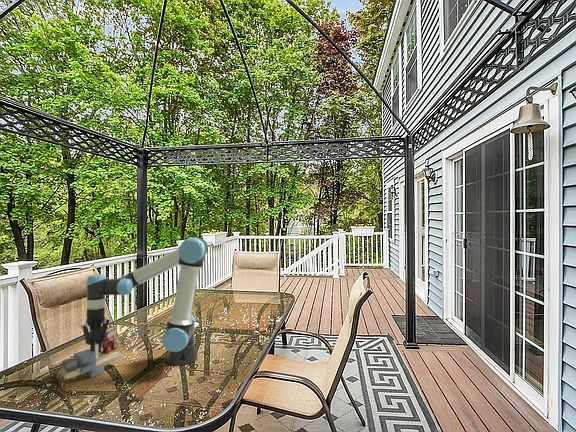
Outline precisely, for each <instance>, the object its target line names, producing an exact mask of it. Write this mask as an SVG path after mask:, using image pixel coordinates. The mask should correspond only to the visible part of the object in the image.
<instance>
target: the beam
mask: <svg viewBox="0 0 576 432" xmlns="http://www.w3.org/2000/svg"><path fill="white" fill-rule="evenodd" d="M121 360H123V352H122V353H121V352H119V351H116V352H114V353H110V354H107V355H103V356H102V357H101V358H98V359H96V369H94V370H91V371H88V372H85V373H81V367H78V366H77V360H76V359H74V357H73V358H72V357H70V358H67V359H63V360H61V371H62V372H61V373H62V374H61V376H62V377H61V378H63V379H65V380H68V379H71V378H75V377H77V376H80V375H83V376H86V377H87V378H89V379H93V378H96V377H99V376H102V375H105V366H108V365H111V364H113V363H116V362H119V361H121Z"/></svg>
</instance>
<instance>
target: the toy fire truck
mask: <svg viewBox="0 0 576 432" xmlns="http://www.w3.org/2000/svg"><path fill="white" fill-rule="evenodd" d="M115 334H116V330H115V329H111V330H109V331H106V334H105V339H104V341H102V343H101V344H100V350H98V353H103V352H105V353H106V354H109V353H110V352H112V350H113V351H114V350H116V349H117V347H118V342H117V341H115Z"/></svg>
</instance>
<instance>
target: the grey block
mask: <svg viewBox="0 0 576 432" xmlns="http://www.w3.org/2000/svg"><path fill="white" fill-rule="evenodd" d="M73 359H76V360H77V366H78V367H81V373H85V372H88V371H91V370H94V369H96V353H95V352H92V351H90V350H89V349H85V350H81V351H77V352H74V353H73Z"/></svg>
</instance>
